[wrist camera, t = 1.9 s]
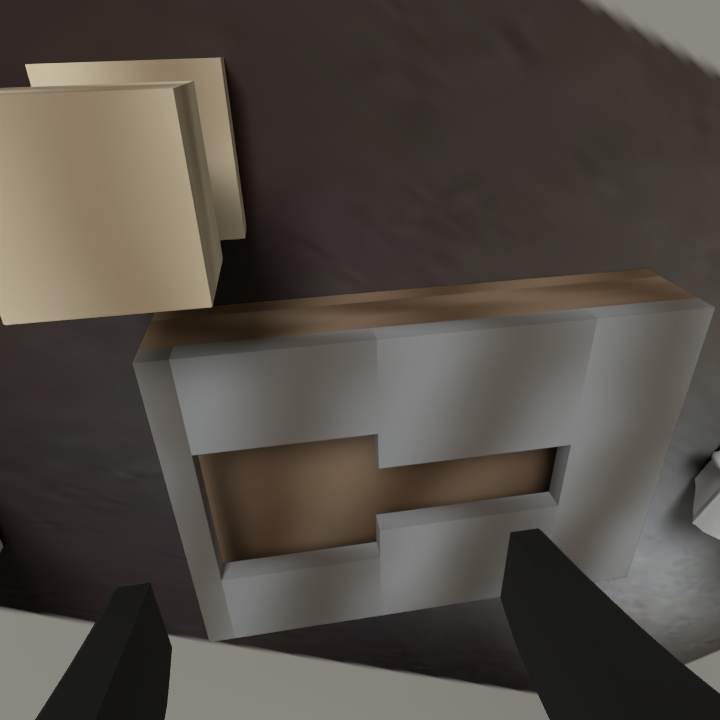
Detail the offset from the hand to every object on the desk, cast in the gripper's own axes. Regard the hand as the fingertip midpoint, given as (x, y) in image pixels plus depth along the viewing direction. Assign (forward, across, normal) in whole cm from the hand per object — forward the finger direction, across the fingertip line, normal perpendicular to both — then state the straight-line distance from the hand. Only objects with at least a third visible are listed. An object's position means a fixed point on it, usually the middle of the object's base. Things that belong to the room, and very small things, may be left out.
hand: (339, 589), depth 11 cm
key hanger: (+10, +4, -7) cm, 13 cm away
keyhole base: (+10, -4, +4) cm, 12 cm away
